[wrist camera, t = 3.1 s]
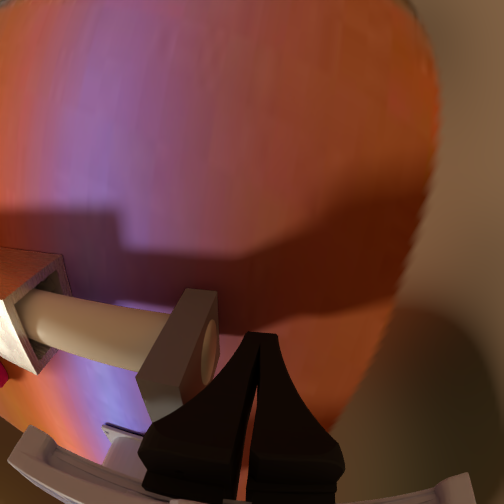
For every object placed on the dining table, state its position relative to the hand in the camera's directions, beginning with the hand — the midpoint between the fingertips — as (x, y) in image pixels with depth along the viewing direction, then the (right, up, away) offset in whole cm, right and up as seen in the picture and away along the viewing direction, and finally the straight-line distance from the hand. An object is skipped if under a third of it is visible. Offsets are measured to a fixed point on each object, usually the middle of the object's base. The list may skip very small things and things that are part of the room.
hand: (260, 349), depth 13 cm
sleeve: (-18, +2, +4) cm, 18 cm away
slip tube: (-13, +2, +2) cm, 14 cm away
